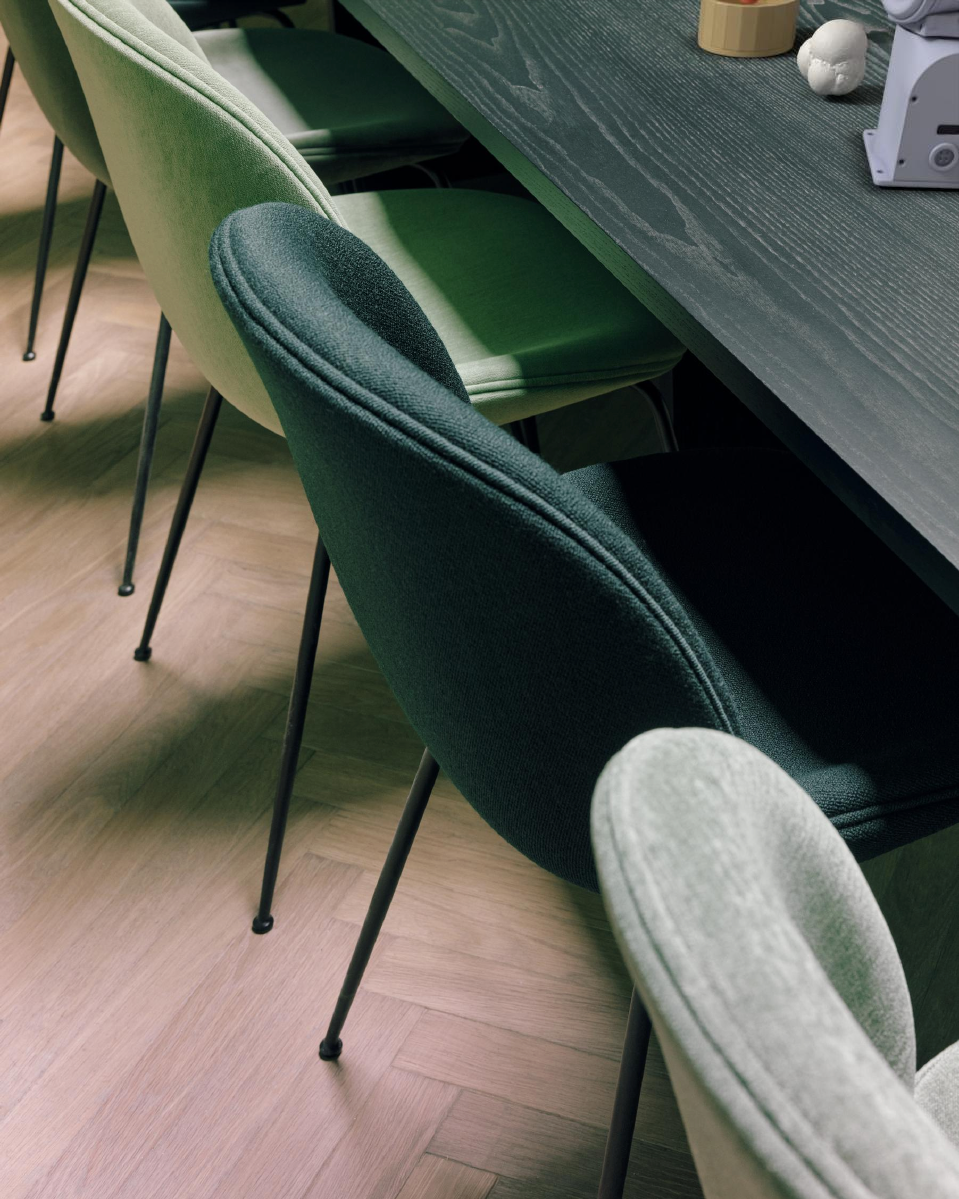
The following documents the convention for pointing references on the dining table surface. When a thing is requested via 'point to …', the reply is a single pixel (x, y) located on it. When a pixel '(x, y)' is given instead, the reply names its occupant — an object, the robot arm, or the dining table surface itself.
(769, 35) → the tumbler
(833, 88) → the microfossil shell
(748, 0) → the straw
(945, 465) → the dining table surface
